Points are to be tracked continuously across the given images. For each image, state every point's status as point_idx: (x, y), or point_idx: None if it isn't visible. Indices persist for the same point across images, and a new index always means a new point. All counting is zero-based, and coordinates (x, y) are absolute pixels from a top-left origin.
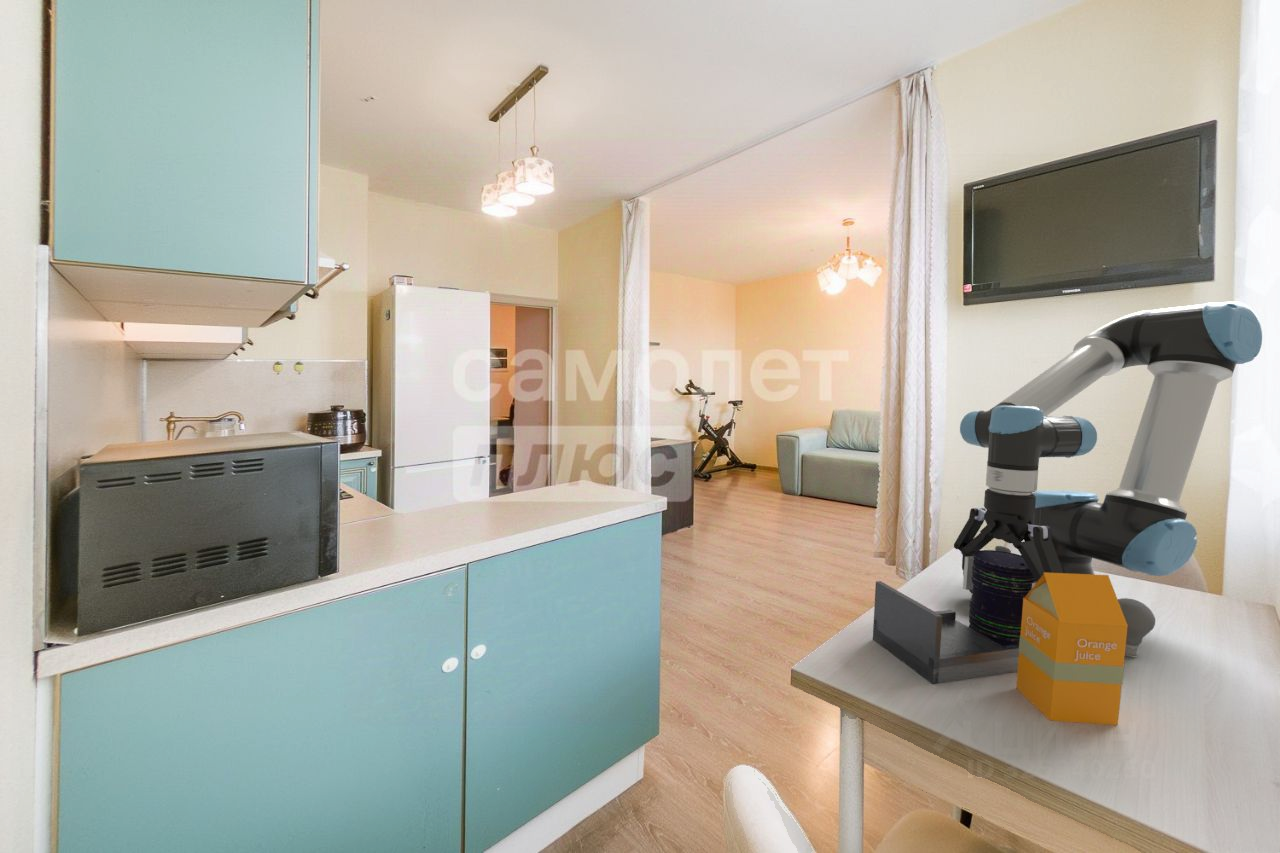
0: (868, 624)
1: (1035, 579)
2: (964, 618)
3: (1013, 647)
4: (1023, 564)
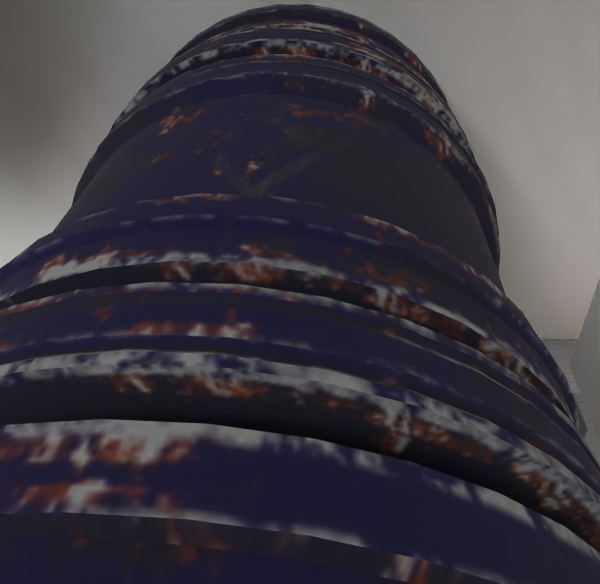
0: None
1: (586, 537)
2: (70, 192)
3: (596, 453)
4: (37, 502)
